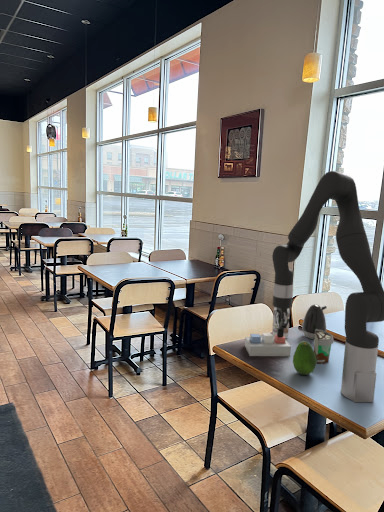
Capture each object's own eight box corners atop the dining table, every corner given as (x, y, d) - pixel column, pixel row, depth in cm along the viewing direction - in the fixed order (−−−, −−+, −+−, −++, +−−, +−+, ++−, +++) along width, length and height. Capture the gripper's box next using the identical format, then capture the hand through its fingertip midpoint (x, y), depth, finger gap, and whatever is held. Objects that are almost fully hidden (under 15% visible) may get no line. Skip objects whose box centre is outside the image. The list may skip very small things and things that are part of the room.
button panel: (290, 356, 145) (291, 346, 144) (249, 356, 144) (250, 346, 143) (282, 346, 155) (283, 337, 154) (244, 345, 154) (245, 336, 153)
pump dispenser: (330, 341, 162) (333, 307, 159) (309, 342, 159) (311, 308, 157) (317, 332, 172) (320, 301, 169) (297, 334, 169) (299, 302, 167)
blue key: (260, 347, 147) (260, 336, 146) (251, 347, 147) (252, 336, 146) (258, 344, 150) (258, 333, 150) (249, 344, 150) (250, 333, 150)
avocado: (287, 372, 131) (289, 340, 129) (302, 367, 135) (304, 335, 134) (305, 381, 125) (308, 347, 123) (320, 376, 129) (323, 343, 127)
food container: (334, 367, 136) (336, 341, 134) (317, 365, 137) (319, 339, 136) (329, 354, 148) (331, 330, 146) (313, 352, 149) (315, 328, 148)
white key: (272, 346, 147) (273, 336, 147) (264, 346, 147) (264, 336, 146) (270, 343, 151) (271, 333, 150) (262, 343, 150) (262, 333, 150)
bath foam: (286, 340, 161) (289, 295, 158) (270, 337, 164) (273, 293, 161) (289, 335, 167) (292, 292, 164) (273, 332, 170) (276, 290, 167)
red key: (284, 348, 148) (285, 338, 147) (276, 348, 148) (277, 338, 147) (282, 345, 151) (283, 335, 150) (274, 345, 151) (274, 335, 150)
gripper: (297, 299, 140) (294, 343, 142) (287, 290, 153) (284, 330, 155) (278, 299, 139) (275, 343, 142) (269, 290, 152) (266, 330, 155)
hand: (280, 336), depth 149 cm, fingers closed
